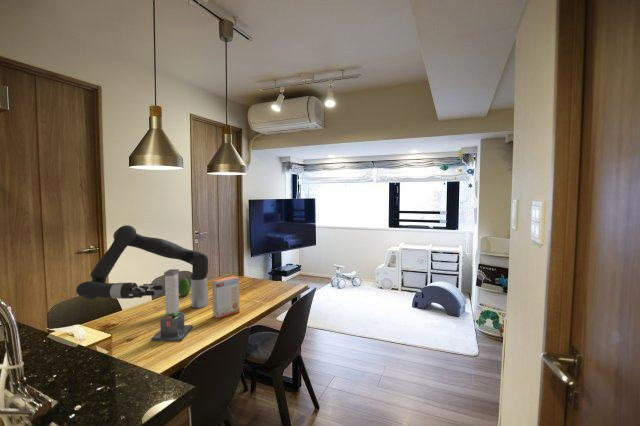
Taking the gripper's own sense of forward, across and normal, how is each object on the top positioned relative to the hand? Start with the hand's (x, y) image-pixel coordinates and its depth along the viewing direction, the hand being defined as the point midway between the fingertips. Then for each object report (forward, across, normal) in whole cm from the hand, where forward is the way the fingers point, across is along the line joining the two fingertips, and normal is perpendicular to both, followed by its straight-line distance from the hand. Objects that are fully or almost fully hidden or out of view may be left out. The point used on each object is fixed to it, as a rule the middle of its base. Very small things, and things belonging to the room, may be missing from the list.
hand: (158, 290), depth 148 cm
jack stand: (+6, 0, +22) cm, 23 cm away
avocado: (-10, +59, +22) cm, 64 cm away
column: (+6, 0, +14) cm, 16 cm away
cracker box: (+26, +25, +22) cm, 42 cm away
